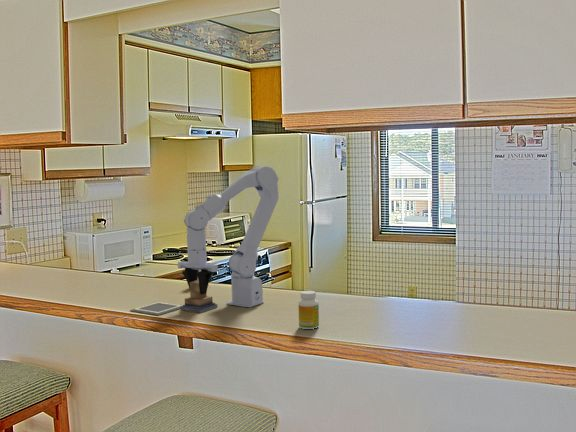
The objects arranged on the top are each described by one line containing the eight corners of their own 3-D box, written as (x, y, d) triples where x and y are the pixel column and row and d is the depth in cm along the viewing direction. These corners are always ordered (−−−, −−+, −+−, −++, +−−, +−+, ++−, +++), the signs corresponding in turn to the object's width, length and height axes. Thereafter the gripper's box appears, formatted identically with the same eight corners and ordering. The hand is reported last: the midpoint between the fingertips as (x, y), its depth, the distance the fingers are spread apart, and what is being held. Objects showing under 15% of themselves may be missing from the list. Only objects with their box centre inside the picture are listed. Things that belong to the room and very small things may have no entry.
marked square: (185, 307, 198) (185, 305, 198) (158, 315, 188) (158, 313, 188) (158, 303, 204) (158, 301, 204) (130, 311, 194) (130, 309, 194)
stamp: (212, 303, 196) (211, 280, 195) (199, 307, 191) (198, 284, 190) (197, 300, 199) (197, 279, 199) (184, 304, 194) (183, 282, 194)
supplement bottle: (317, 330, 168) (316, 294, 167) (297, 330, 169) (296, 294, 168) (320, 325, 173) (319, 290, 172) (300, 324, 174) (299, 289, 173)
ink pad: (217, 307, 196) (217, 302, 196) (200, 313, 190) (200, 308, 190) (198, 304, 201) (197, 299, 201) (180, 310, 194) (180, 305, 194)
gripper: (170, 249, 194) (172, 293, 195) (206, 252, 186) (207, 298, 187) (186, 246, 200) (187, 288, 201) (221, 249, 192) (223, 293, 193)
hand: (198, 293), depth 195 cm, fingers closed on stamp, 3 cm apart
